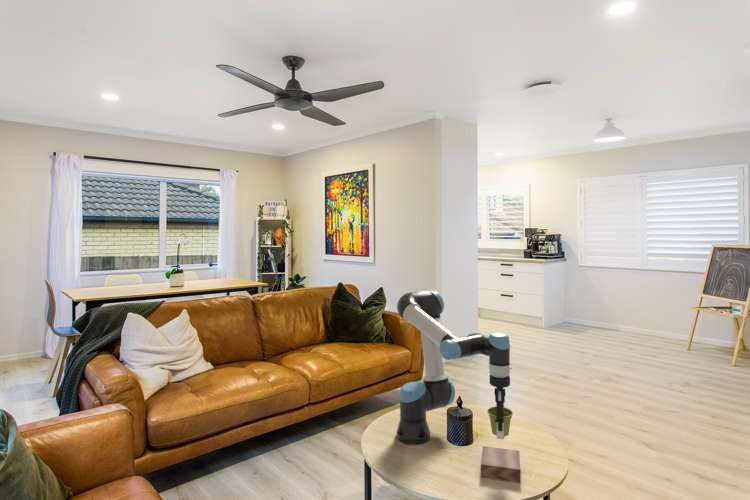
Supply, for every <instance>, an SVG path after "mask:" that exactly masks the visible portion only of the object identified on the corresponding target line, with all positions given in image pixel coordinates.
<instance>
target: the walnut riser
mask: <svg viewBox="0 0 750 500" xmlns="http://www.w3.org/2000/svg"><path fill="white" fill-rule="evenodd" d="M520 458H521V457H520V450H517V449H509V448H508V449H507V448H500V447H492V446H485V445H484V446H482V452H481V461H480V477H481V478H483V479H489V480H491V479H492V480H498V481H504V482H505V481H506V482H511V483H516V484H517V483H518V484H521V483H522V482H521V478H522V477H521V476H522V475H521V459H520Z"/></svg>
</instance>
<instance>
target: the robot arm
mask: <svg viewBox="0 0 750 500" xmlns="http://www.w3.org/2000/svg"><path fill="white" fill-rule="evenodd" d="M396 305H397V306H396V308H397V309H396V310H397V312H398V315H399V317H400V318H401V319H402V320H403V321H405V322H406V323H408V324H411V325H413V326H414V327H415V328H416V329H417V330H418V331H419V332H420V336H421V345H422V355H423V362H424V371H425V376H424V377H423V378H422V382H421V381H410V382H407V383H405V384H403V385H402V386H401V387H400V390H399V413H400V414H399V422H398V426H397V429H396V439H398V441H400V442H401V443H404V444H406V445H422V444H425V443H426V442H428V441H430V440H431V429H430V427H429V424H428V422H427V412H429V411H433V410H437V409H441V408H445V407H448V406H450V405H451V404H453V402H454V401H455V398H456V389H455V388H456V387H455V385H454V384H453V382H452V381H451V380H450V379H449V377H448V375H447V374H446V373H445V371H444V363H443V359H444V360H446V361H449V360H451V361H452V360H453V361H454V360H457V359H461V358H462V359H463V358H466V357H467V358H468V357H471V356H477V355H483V356H486V357H489V359H488V362H489V363H488V366H489V367H488V369H489V370H488V371H489V384H490V386H492V387H494V395H495V396H494V397H495V398H494V400H495V401H494V402H495V403H496V404H495V405H496V406H495V407H496V411H497V420H495V422H496V432H497V436H496V439H497V440H505V437H504V420H503V408H504V407H505V405H504V404H505V402H506V399H505V398H506V388H509V387H510V386H511V376H510V374H511V372H510V371H511V370H512V366H510V365H511V362H510V359H511V358H510V357H511V356H510V353H511V351H510V349H511V344H510V336H509V335H508V334H506V333H503V332H492V333H490V334H489V335H485V334H482V333H479V332H470V333H469V334H468V335H466V336H463V337H458V336H457V335H456V334H453V333H452V331H450V330H449V329H447V328H446V327H444V325H442V324H441V323H440V322H439V321H440V319H441V314H442V313H443V312H444V309H445V303H444V299H443V297H442V296H441V294H440V293H439V292H437V291H436V290H423V291H413V292H412V291H411V292H407V293H404V294H402V296H400V298H399V299H398V302H397V304H396Z"/></svg>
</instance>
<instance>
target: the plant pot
mask: <svg viewBox="0 0 750 500" xmlns="http://www.w3.org/2000/svg"><path fill="white" fill-rule="evenodd" d="M486 411H487V414H488V416H489V421H490V428H491V432H492V434H493V435H495V436H496V437H497V432H496V422H495V420H497V411H496V406H491V407H489V408H488V409H487V410H486ZM513 415H514V413H513V410H511V409H510V408H509V407H505V406H504V408H503V420H504V438H505V437H506V436H507V437H508V436H509V435H510V434H509V433H510V426H511V420H512V417H513Z"/></svg>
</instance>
